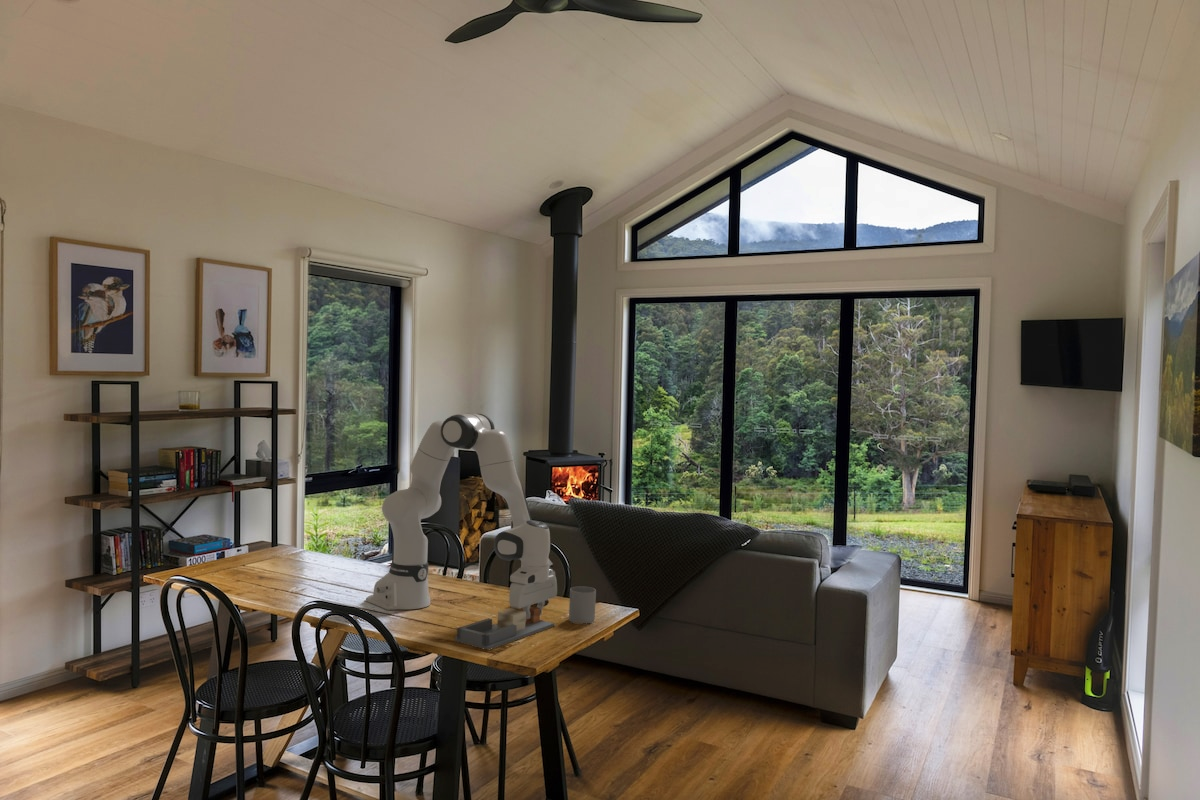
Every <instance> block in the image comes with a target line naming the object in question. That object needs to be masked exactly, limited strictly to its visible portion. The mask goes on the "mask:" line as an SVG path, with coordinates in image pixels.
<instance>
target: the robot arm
mask: <svg viewBox="0 0 1200 800" xmlns="http://www.w3.org/2000/svg"><path fill="white" fill-rule="evenodd" d="M455 449H463V450H471V449H472V450H474V451H475V452H476V455H477V458H478V462H479V468H480V475H481V478H482V481H483V483H484V485H485V487H486V488H487V489H489V490H490V491H492V492H494V493H496V494H498V495H500V497H502V498H503V499H504V500H505V502H506V504H507V507H508V510H509V513H510V516H511V521H512V527H511V528H509V529H508V528H507V529H506V530H502V531H500V532H499V533H497V535H496V536H495V537H494V540H493V549H494V550H493V551H494V553H495V554H496V556H497V557H498V558H499V559H500V560H503V561H513V560H520V562H521V563H520V565H521V566H520V567H519V568H518V569H517V570H516V571H514V572H512V573H511V574H510V576H509V581H510V582H512V583H511V584H510V585H509V586H510V587H509V591H508V592H509V593H508V594H509V595H508V597H509V599H508V602H509V606H510V608H512V609H516V610H519V609H522V611H524V612H526V619H530V618H532V613H530V610H529V609H530V607H531V606H532V605H536V604H537V606H536V608H540V616H542V614H543V608H544V607H545V605H544V604H545V600H551V599H554V598H556V597H557V596H558V583H557V577H556V571H555V570H554V569H553V568H549V559H550V558H549V555H550V552H551V551H550V550H551V533H550V528H549V526H548V525H547V524H546V523H545V522H543V521H540V520H533V519H532V516H531V512H530V509H529V505H528V501H527V498H526V497H527V496H526V493H525V490H524V488H523V484H522V483H521V481H520V478H519V476H518V472H517V469H516V464H515V460H514V459H515V458H514V454H513V450H512V446H511V443H510V440H509V438H508V435H507V434H506V432H504V431H503V430H501V429H495V423H494V422H493V421H492V419H491V418H490V417H489V416H487V415H485V414H482V413H473V412H472V413H470V412H468V413H461V414H453V415H450V416H448V417H447V418H445V420H436V421H433V422H432V423H431V425H429V427H428V428H427V430H426V432H425V433H424V435H423V437H422V439H421V441H420V443H419V445H418V447H417V449H416V452H415V455H414V457H413V459H412V462H411V464H410V472H411V483H410V485H409V487H408V488H405V489H399V490H396V491H394V492H392V493H390V494H389V495H387V496H386V497H385V498H384V500H383V502H382V505H381V511H382V515H383V517H384V518H385V519H386V521H388V523H389V525H390V528H391V532H392V536H393V560H392V562H389V563H387V568H388V567H389V570H388V573H386V574H385V575H383V576H382V577H381V578H380V579H378V580H377V581H376V582H375V584H374V587H373V593H372V594H370V595H368V596H366V597H365V602H368V603H370V604H373V605H375V606H378V607H380V608H382V609H385V610H388V611H391V610H393V611H394V610H415V609H416V610H417V609H423V608H426V607H429V606H430V605H431V604H432V603H431V595H430V593H429V592H430V590H429V589H430V588H429V577H428V573H429V562H428V551H429V550H428V548H429V546H428V545H429V540H428V537H427V536H426V535H425V534H424V532H423V527H422V522H421V521H422V520H424V519H428V518H430V517H432V516H434V515H435V513H437V512H439V510H440V508H441V506H442V497H441V493H440V489H441V483H442V480H443V477H444V475H445V472H446V469H447V468H448V465H449V463H450V460H451V458H452V456H453V454H454V451H455ZM548 558H549V559H548Z"/></svg>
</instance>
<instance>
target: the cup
mask: <svg viewBox="0 0 1200 800" xmlns="http://www.w3.org/2000/svg"><path fill="white" fill-rule="evenodd" d="M596 597H597V589H595V588H594V587H591V586H584V585H583V586H579V585H578V586H573V587H570V588H569V603H568V605H569V607H568V608H569V609H568V621H569V622H570V621H571V622H570V623H572V622H573V624H576V623H581V624H580V625H584V624H583V623H586V624H585V625H588V624H587V623H590V624H593V623H594V622H595V621H594V620H595V619H596V602H597V601H596ZM592 622H593V623H592Z"/></svg>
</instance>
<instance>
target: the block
mask: <svg viewBox="0 0 1200 800" xmlns="http://www.w3.org/2000/svg"><path fill="white" fill-rule="evenodd" d="M529 610H530V613H532V618H530V619H526V612H524V611H523V610H519V609H517V608H513V607H510V608H507V609H504V610H500V611H498V612H497V623H498V624H497V623H496V624H497V629H500V628H503V627H506V626H509V625H512V624H513V625H517V627H516V631H519V630H522V629H525V624H528V623H535V622H538V621H540V620H541V615H540V608H537V606H530V609H529Z"/></svg>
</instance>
